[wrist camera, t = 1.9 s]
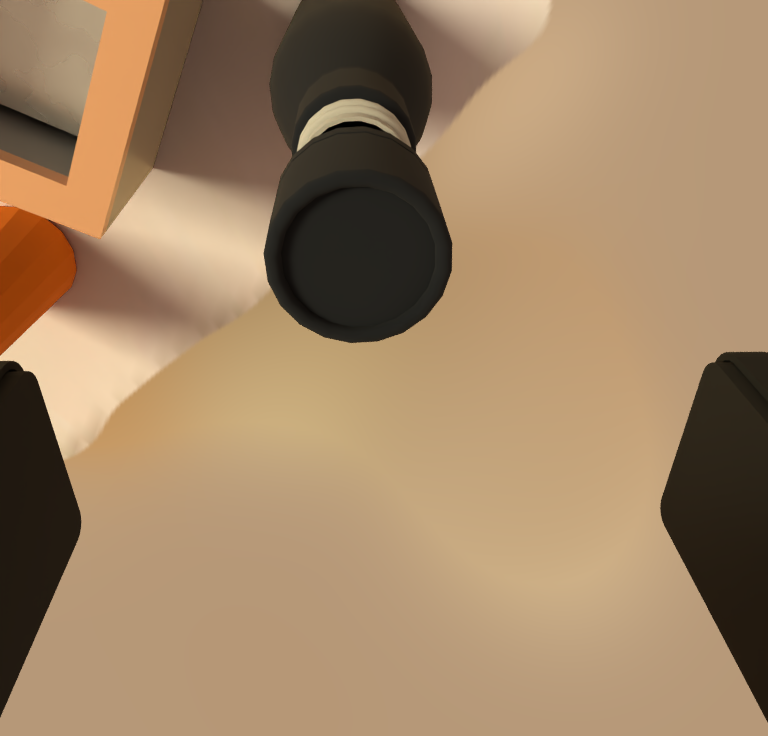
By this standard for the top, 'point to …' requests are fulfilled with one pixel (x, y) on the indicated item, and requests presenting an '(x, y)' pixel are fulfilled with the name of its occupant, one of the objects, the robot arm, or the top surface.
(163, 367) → the top surface
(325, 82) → the black water bottle
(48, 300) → the spray bottle
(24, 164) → the sleeve
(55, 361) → the top surface
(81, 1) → the plunger plate
